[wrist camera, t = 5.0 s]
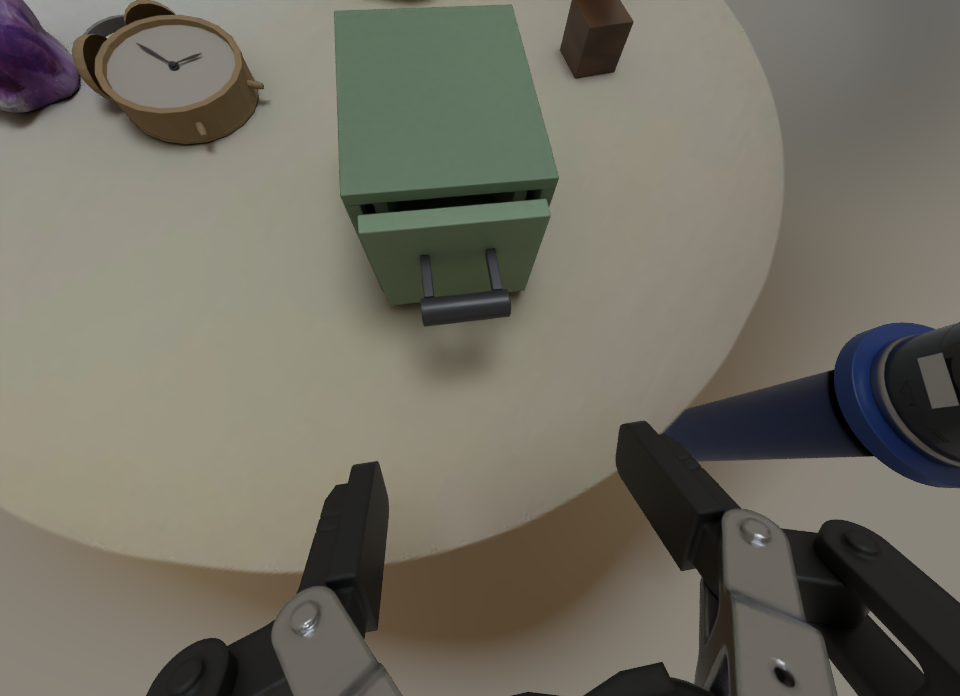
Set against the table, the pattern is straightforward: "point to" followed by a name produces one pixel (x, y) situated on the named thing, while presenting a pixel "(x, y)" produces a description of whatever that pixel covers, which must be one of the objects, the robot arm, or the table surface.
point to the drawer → (455, 252)
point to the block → (595, 36)
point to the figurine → (31, 62)
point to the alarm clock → (168, 73)
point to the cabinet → (436, 107)
